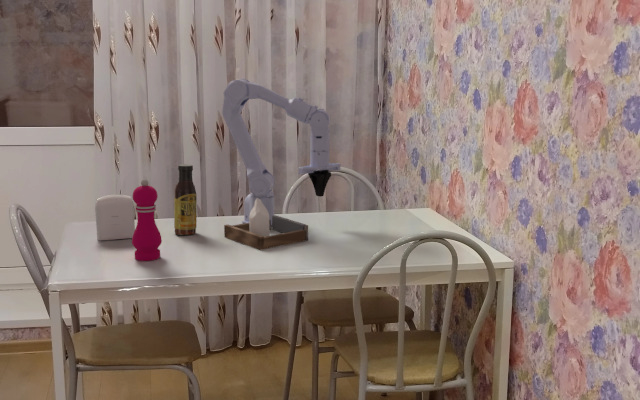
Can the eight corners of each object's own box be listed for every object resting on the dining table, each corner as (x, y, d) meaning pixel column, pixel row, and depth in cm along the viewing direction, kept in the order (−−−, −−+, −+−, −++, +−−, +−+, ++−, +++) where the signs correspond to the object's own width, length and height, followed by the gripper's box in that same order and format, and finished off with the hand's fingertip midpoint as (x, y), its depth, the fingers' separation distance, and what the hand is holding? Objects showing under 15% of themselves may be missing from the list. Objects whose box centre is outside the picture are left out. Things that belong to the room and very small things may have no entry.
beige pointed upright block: (268, 200, 189) (247, 200, 190) (268, 243, 192) (248, 243, 192) (270, 196, 195) (250, 196, 195) (270, 238, 198) (250, 237, 198)
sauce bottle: (181, 237, 197) (179, 167, 194) (170, 233, 202) (168, 164, 198) (201, 233, 202) (200, 165, 198) (190, 229, 206) (188, 162, 202)
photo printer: (97, 241, 192) (94, 197, 190) (96, 238, 196) (94, 194, 194) (135, 239, 195) (133, 195, 193) (134, 235, 199) (133, 192, 197)
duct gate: (306, 238, 197) (306, 224, 196) (302, 239, 196) (302, 225, 195) (275, 228, 208) (275, 215, 207) (272, 229, 207) (272, 215, 206)
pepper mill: (137, 253, 181) (134, 176, 177) (165, 254, 181) (162, 177, 177) (129, 261, 174) (125, 181, 170) (158, 261, 174) (155, 182, 170)
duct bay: (224, 237, 198) (224, 222, 197) (272, 228, 209) (272, 214, 208) (260, 250, 185) (260, 234, 184) (309, 240, 196) (309, 225, 195)
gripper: (309, 154, 200) (308, 200, 203) (347, 150, 209) (346, 195, 212) (294, 151, 206) (294, 197, 208) (332, 147, 215) (331, 191, 217)
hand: (319, 195), depth 210 cm, fingers closed
